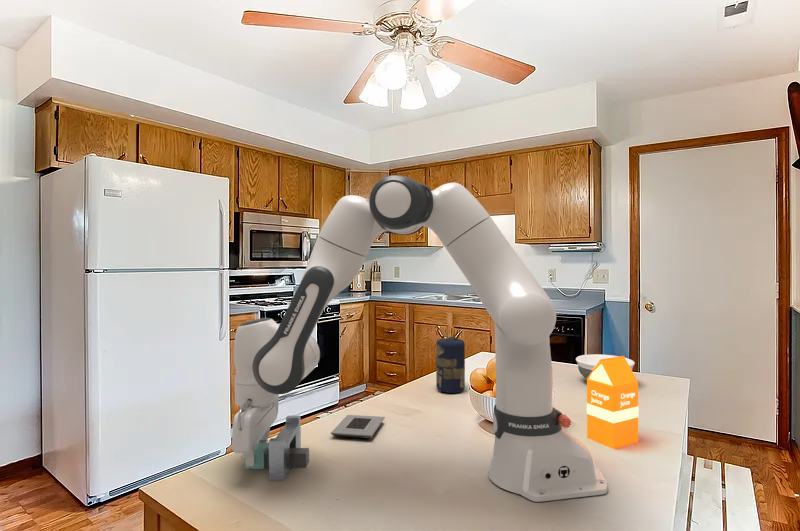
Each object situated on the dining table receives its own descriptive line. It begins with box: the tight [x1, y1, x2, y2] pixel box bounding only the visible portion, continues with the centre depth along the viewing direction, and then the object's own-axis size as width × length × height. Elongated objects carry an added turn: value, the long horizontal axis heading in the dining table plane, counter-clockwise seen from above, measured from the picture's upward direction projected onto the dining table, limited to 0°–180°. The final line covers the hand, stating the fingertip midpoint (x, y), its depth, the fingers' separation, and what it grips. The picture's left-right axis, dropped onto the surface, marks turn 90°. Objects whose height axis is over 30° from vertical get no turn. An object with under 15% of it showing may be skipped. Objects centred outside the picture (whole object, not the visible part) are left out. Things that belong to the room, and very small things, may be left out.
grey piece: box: [268, 415, 302, 481], centre depth 101 cm, size 3×15×8 cm, turn 179°
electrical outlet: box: [330, 414, 386, 439], centre depth 120 cm, size 13×10×2 cm
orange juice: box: [586, 355, 639, 450], centre depth 112 cm, size 8×9×20 cm
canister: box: [435, 336, 466, 394], centre depth 154 cm, size 10×10×18 cm
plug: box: [240, 442, 310, 470], centre depth 101 cm, size 14×4×4 cm, turn 89°
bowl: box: [575, 353, 636, 380], centre depth 161 cm, size 19×19×8 cm
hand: (257, 456), depth 101 cm, fingers open, 7 cm apart
